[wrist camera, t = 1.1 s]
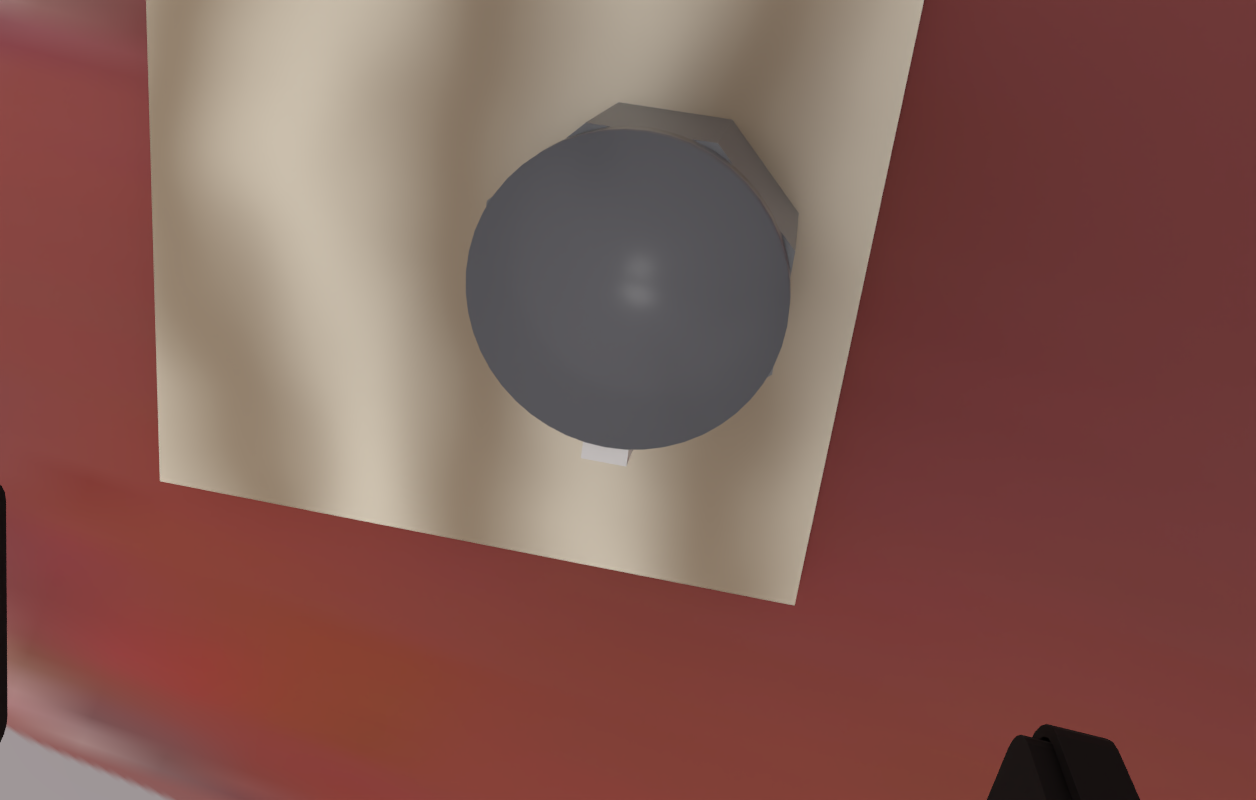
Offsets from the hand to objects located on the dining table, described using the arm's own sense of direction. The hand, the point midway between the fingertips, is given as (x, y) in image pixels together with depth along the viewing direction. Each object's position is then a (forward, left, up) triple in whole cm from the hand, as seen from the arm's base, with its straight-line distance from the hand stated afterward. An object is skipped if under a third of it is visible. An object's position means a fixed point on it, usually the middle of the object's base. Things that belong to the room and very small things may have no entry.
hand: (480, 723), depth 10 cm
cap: (+1, 0, -18) cm, 18 cm away
